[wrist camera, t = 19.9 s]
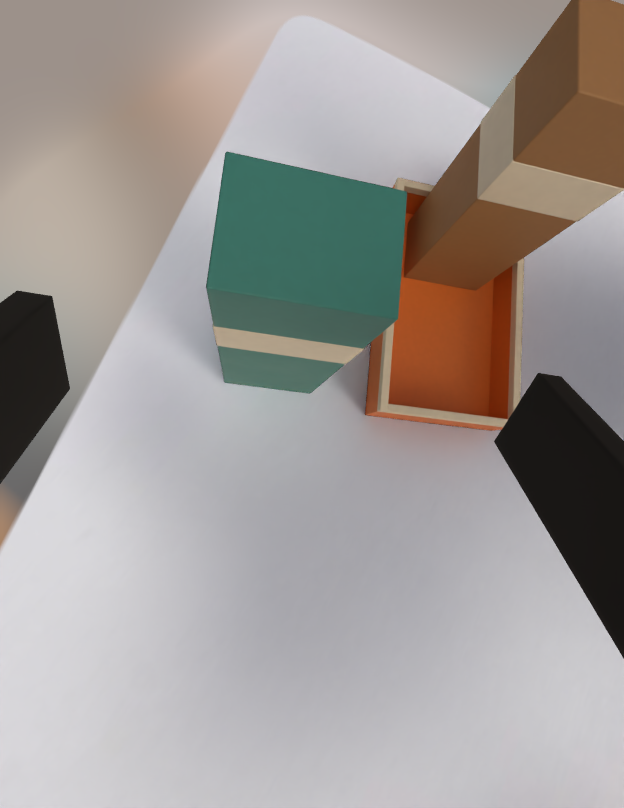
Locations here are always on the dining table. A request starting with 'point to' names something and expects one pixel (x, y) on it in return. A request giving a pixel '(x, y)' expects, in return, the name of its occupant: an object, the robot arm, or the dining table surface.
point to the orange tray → (449, 348)
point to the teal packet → (300, 271)
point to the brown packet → (531, 156)
